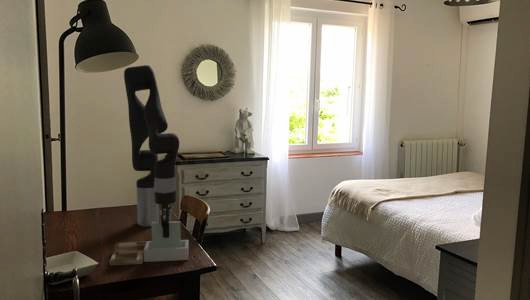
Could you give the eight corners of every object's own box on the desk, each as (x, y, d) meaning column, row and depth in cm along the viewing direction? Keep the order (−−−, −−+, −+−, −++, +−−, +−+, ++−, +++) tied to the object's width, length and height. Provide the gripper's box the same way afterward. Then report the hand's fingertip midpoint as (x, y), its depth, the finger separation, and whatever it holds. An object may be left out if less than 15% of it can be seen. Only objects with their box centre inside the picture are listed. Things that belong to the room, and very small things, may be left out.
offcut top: (119, 250, 164) (118, 243, 164) (136, 249, 166) (136, 242, 165) (118, 254, 161) (118, 247, 160) (136, 252, 162) (136, 245, 162)
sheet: (152, 246, 170) (151, 222, 168) (180, 245, 171) (180, 221, 170) (152, 247, 168) (151, 223, 167) (180, 246, 170) (180, 222, 168)
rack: (116, 251, 174) (116, 242, 174) (146, 250, 176) (146, 241, 176) (109, 265, 161) (109, 255, 161) (142, 263, 163) (142, 254, 162)
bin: (147, 252, 174) (146, 241, 173) (188, 250, 176) (188, 239, 175) (144, 261, 165) (143, 250, 164) (188, 259, 167) (187, 248, 166)
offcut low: (117, 257, 165) (117, 250, 165) (137, 256, 166) (137, 249, 166) (115, 260, 161) (115, 253, 161) (136, 259, 162) (136, 253, 162)
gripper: (156, 185, 173) (157, 231, 175) (152, 194, 160) (153, 243, 162) (176, 185, 174) (177, 230, 176) (174, 193, 161) (175, 242, 163)
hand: (166, 236), depth 169 cm, fingers closed on sheet, 1 cm apart
